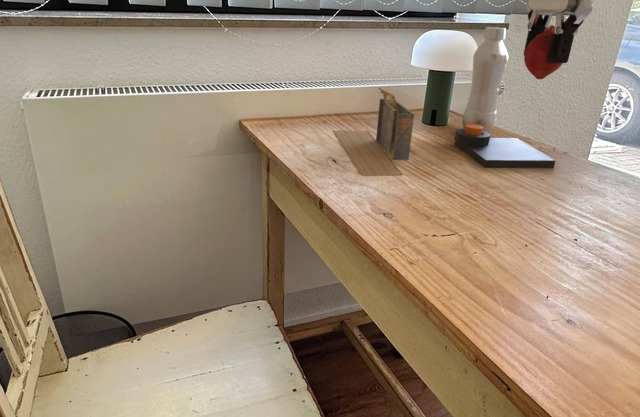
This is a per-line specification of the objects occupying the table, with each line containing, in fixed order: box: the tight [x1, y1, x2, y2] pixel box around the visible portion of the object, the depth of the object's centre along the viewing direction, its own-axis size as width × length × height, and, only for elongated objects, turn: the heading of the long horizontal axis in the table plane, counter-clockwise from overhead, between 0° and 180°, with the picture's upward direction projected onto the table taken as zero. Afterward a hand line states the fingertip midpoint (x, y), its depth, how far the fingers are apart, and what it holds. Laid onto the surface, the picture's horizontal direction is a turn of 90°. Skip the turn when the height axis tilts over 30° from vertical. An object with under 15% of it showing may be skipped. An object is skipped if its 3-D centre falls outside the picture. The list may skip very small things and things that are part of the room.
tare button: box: [464, 124, 483, 136], centre depth 87 cm, size 3×3×2 cm
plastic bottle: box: [461, 26, 509, 134], centre depth 95 cm, size 6×7×20 cm
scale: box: [453, 127, 556, 169], centre depth 85 cm, size 13×14×3 cm
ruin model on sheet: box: [332, 87, 415, 176], centre depth 84 cm, size 25×16×10 cm, turn 8°
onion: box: [523, 24, 564, 80], centre depth 75 cm, size 6×6×8 cm
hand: (544, 58), depth 76 cm, fingers closed on onion, 5 cm apart
